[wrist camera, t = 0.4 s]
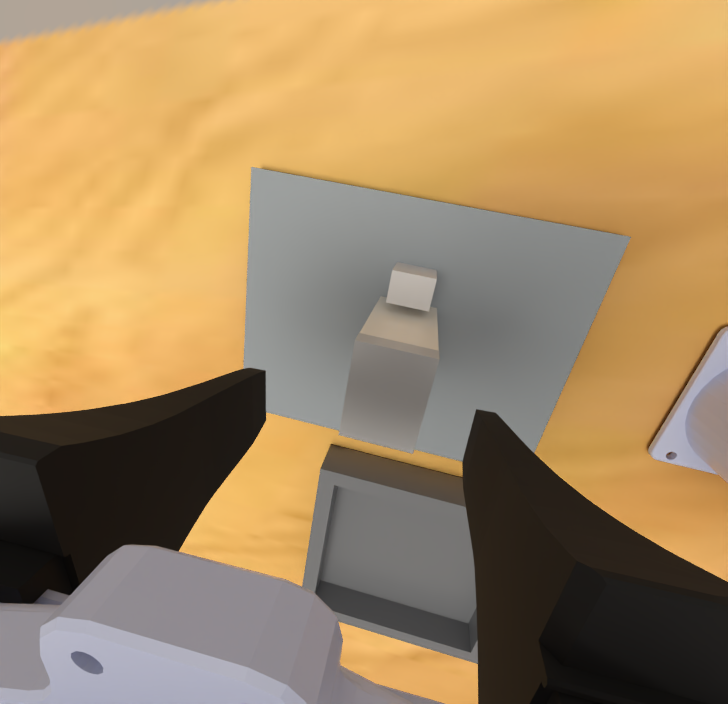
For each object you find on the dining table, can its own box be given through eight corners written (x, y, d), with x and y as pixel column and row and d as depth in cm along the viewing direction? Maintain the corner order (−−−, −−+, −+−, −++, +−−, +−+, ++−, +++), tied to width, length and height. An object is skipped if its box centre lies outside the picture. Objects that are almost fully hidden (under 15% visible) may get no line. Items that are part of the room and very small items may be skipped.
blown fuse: (436, 307, 19) (439, 359, 12) (418, 376, 20) (412, 454, 14) (380, 295, 19) (354, 340, 13) (367, 364, 21) (338, 435, 14)
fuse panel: (620, 235, 17) (663, 242, 14) (519, 465, 23) (534, 508, 19) (260, 169, 19) (225, 161, 15) (249, 398, 24) (221, 427, 21)
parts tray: (540, 497, 23) (552, 529, 21) (476, 628, 29) (480, 664, 26) (331, 444, 24) (320, 468, 22) (308, 578, 30) (298, 609, 28)
